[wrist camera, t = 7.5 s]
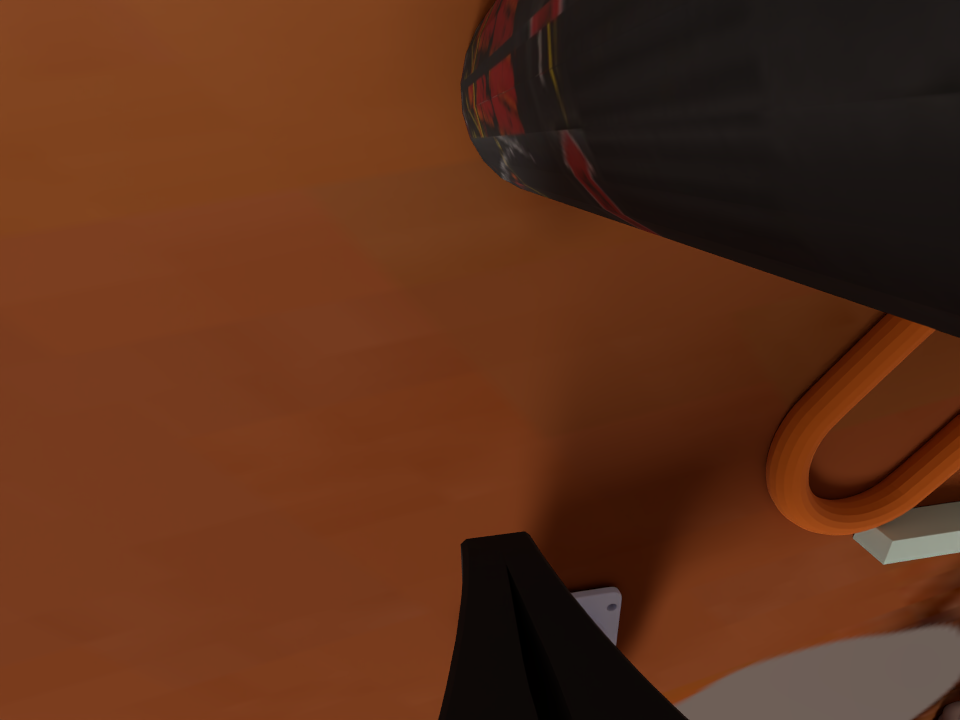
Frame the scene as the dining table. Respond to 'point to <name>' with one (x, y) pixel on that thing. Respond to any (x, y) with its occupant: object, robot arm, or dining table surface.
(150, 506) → the dining table surface
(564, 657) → the robot arm
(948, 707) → the coil
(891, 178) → the deodorant
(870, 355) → the orange oval ring
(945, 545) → the bar pull handle
